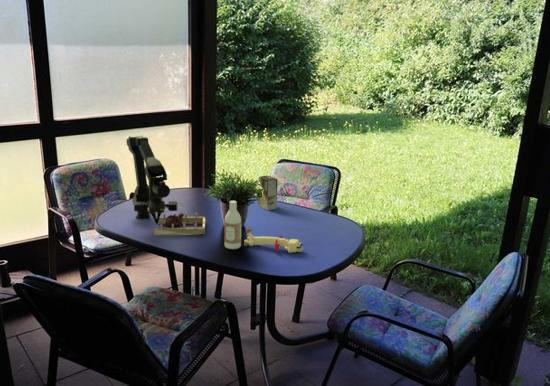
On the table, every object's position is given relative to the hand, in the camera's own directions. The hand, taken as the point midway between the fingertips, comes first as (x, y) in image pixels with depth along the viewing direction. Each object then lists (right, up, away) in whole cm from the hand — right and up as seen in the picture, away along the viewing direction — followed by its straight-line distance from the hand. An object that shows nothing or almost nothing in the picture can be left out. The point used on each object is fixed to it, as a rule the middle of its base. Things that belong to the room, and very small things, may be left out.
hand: (156, 224), depth 222 cm
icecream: (+7, -3, +1) cm, 8 cm away
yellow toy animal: (+53, -10, -15) cm, 56 cm away
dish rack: (+11, -2, +2) cm, 11 cm away
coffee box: (+50, +7, +35) cm, 61 cm away
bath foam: (+36, -9, -15) cm, 40 cm away
